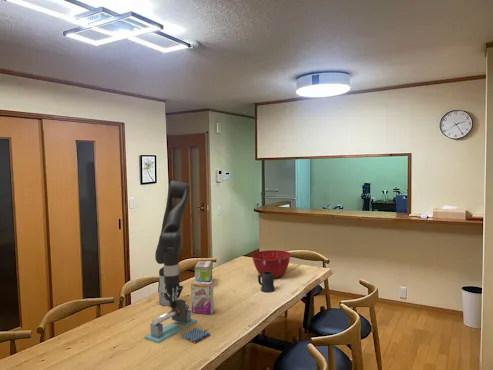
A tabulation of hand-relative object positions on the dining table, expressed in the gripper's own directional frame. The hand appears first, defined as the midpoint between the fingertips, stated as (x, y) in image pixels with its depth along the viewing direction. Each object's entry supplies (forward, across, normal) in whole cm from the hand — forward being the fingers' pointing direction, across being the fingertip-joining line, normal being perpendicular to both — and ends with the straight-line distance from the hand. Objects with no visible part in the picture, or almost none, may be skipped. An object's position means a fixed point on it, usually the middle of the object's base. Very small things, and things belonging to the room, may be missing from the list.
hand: (173, 307), depth 178 cm
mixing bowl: (+11, -98, -2) cm, 98 cm away
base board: (+10, +1, 0) cm, 11 cm away
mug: (+11, -71, +10) cm, 72 cm away
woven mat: (+11, +1, +15) cm, 19 cm away
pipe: (+10, +1, 0) cm, 11 cm away
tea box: (+11, -58, -31) cm, 66 cm away
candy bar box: (+11, -23, -1) cm, 25 cm away
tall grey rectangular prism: (+7, -4, 0) cm, 8 cm away
